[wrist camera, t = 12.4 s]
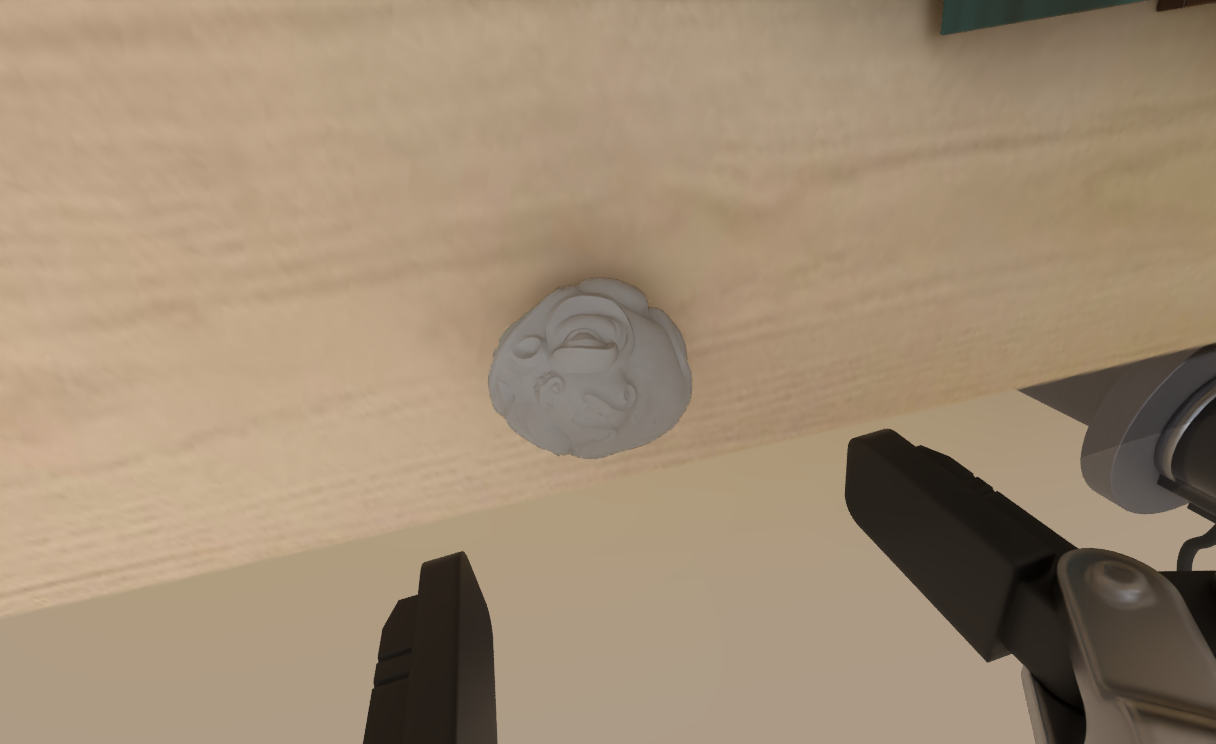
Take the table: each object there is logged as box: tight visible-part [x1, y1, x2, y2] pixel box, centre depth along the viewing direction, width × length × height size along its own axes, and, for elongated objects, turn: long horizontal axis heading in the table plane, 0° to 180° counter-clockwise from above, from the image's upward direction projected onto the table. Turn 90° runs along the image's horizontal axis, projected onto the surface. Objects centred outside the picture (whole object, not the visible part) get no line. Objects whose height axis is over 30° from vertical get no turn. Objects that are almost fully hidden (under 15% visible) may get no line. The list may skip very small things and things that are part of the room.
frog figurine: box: [488, 278, 692, 459], centre depth 18 cm, size 6×7×7 cm
